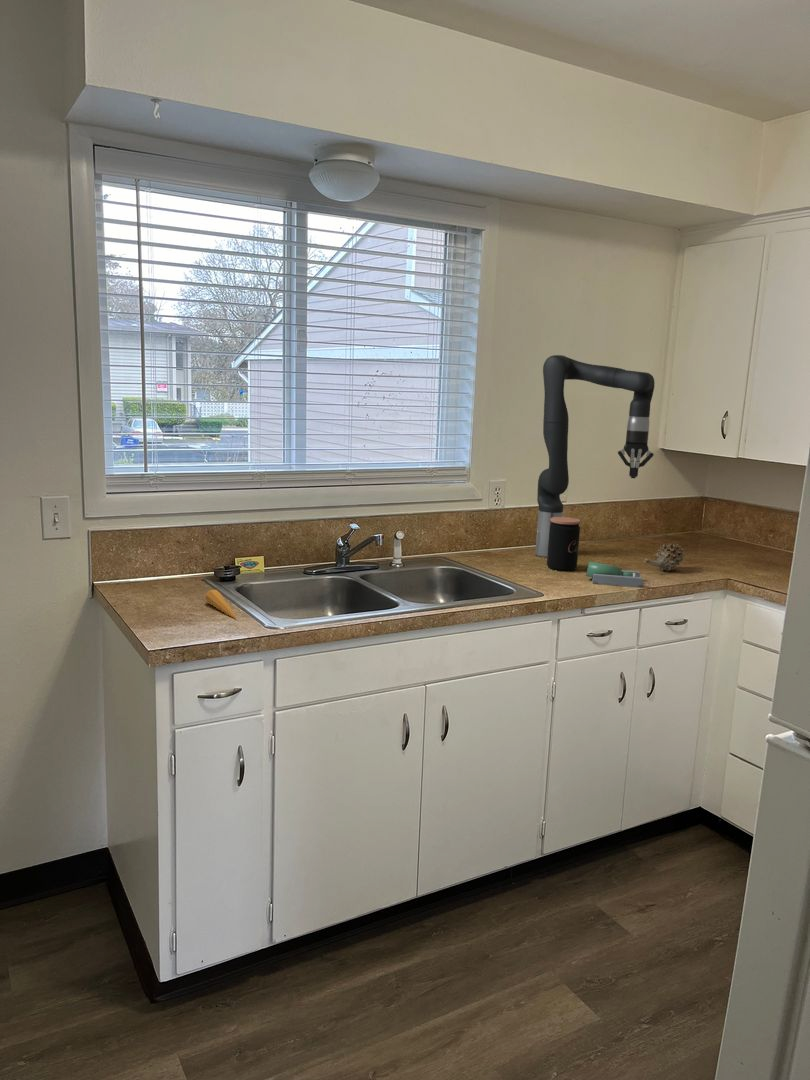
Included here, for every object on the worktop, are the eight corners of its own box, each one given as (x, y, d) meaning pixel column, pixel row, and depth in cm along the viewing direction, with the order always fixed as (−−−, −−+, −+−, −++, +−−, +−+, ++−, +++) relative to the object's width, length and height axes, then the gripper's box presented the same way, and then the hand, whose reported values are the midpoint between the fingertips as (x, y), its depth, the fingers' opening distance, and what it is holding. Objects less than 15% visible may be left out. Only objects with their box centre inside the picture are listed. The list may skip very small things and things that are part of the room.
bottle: (589, 563, 277) (637, 572, 275) (589, 559, 282) (635, 568, 280) (586, 577, 278) (633, 586, 276) (586, 574, 283) (632, 583, 281)
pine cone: (664, 565, 309) (667, 539, 307) (688, 570, 302) (691, 543, 300) (634, 573, 293) (637, 545, 291) (659, 578, 287) (662, 550, 285)
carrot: (206, 605, 235) (201, 592, 233) (221, 597, 237) (215, 584, 235) (232, 631, 219) (227, 617, 217) (247, 623, 221) (242, 609, 219)
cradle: (592, 583, 275) (593, 575, 275) (591, 576, 286) (591, 567, 285) (642, 587, 273) (643, 578, 272) (638, 579, 283) (639, 571, 283)
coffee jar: (570, 573, 288) (574, 523, 285) (541, 568, 294) (545, 519, 290) (580, 568, 297) (585, 519, 294) (553, 563, 303) (556, 515, 299)
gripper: (619, 429, 289) (615, 478, 293) (658, 431, 287) (653, 480, 291) (617, 428, 297) (613, 475, 300) (655, 429, 295) (650, 478, 298)
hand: (633, 478), depth 295 cm, fingers closed
